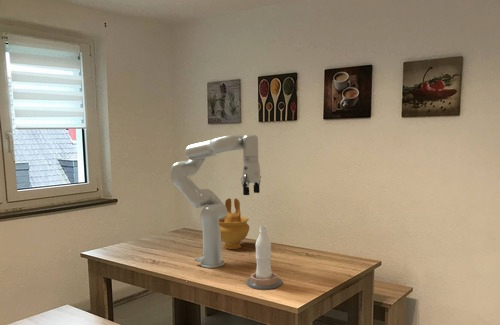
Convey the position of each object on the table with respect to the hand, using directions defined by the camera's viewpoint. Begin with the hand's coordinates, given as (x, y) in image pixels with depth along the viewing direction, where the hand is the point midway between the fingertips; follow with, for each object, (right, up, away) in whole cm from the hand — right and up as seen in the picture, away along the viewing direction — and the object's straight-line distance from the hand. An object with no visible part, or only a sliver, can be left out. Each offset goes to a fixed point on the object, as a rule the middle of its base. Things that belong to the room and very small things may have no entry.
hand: (251, 193), depth 200 cm
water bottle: (+6, -38, -19) cm, 43 cm away
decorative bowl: (-11, -37, +47) cm, 60 cm away
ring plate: (+6, -39, -19) cm, 44 cm away
